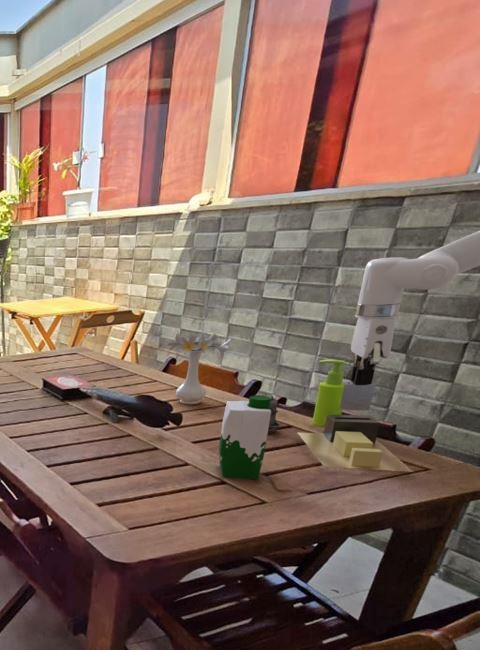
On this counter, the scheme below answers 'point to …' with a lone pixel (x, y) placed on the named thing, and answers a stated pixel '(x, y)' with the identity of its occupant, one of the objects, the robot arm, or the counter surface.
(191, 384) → the flower vase
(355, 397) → the knife
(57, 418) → the counter surface
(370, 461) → the butter slice
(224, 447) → the milk carton
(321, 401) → the soap dispenser
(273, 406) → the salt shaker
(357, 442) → the butter
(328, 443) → the cutting board
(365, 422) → the block
